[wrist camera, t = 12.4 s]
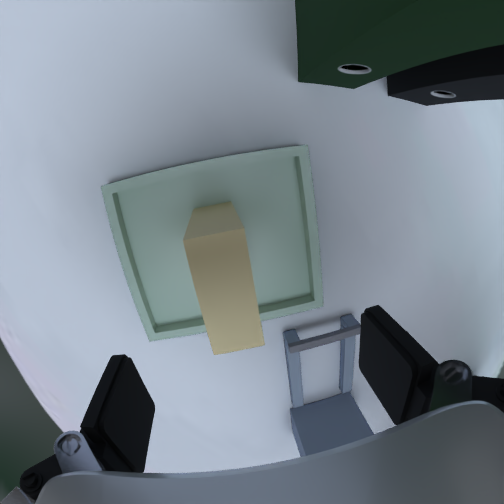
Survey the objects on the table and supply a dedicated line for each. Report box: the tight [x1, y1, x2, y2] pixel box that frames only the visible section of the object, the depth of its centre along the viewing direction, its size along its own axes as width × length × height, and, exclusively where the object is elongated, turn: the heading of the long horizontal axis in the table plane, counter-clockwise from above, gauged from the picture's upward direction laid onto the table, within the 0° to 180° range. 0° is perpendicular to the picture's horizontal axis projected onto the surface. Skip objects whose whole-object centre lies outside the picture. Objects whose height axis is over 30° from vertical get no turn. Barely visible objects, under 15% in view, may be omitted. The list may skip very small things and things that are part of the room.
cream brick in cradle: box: [183, 201, 265, 355], centre depth 19 cm, size 3×7×9 cm, turn 9°
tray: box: [101, 145, 323, 341], centre depth 23 cm, size 16×14×2 cm
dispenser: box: [283, 314, 374, 457], centre depth 27 cm, size 8×18×8 cm, turn 9°
